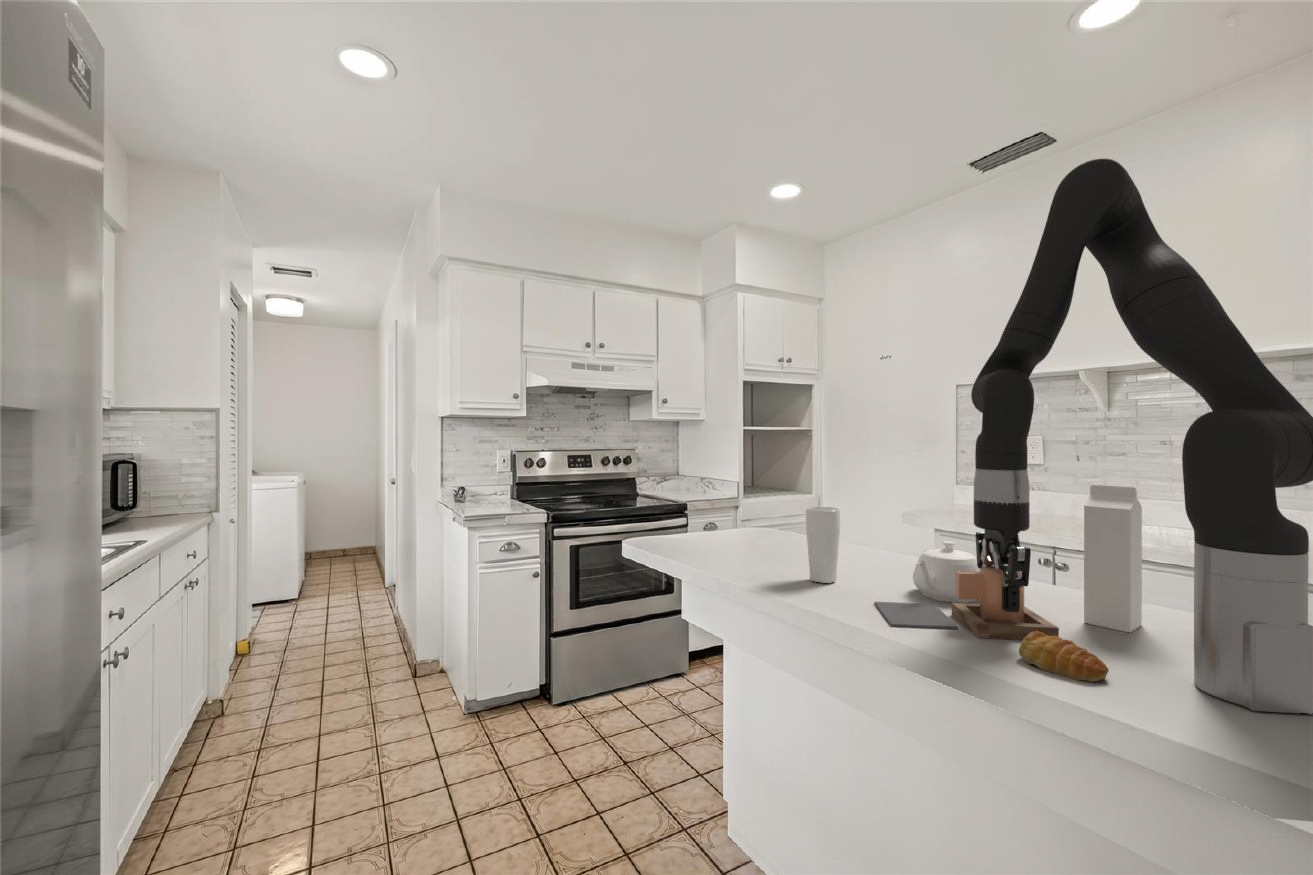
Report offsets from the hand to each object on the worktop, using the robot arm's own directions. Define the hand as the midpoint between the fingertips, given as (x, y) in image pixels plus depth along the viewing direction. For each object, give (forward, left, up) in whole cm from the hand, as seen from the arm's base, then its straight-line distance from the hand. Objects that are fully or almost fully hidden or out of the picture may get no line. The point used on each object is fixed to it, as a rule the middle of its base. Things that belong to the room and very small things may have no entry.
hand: (1001, 604), depth 90 cm
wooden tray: (0, 0, -4) cm, 4 cm away
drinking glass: (+25, +24, -4) cm, 35 cm away
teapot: (+17, +2, -4) cm, 18 cm away
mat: (+4, +12, -4) cm, 13 cm away
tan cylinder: (0, +2, -3) cm, 3 cm away
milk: (+4, -18, -4) cm, 19 cm away
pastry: (-15, -1, -4) cm, 15 cm away
